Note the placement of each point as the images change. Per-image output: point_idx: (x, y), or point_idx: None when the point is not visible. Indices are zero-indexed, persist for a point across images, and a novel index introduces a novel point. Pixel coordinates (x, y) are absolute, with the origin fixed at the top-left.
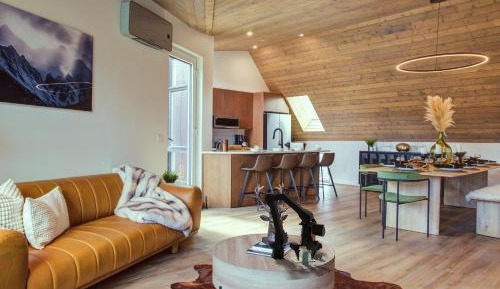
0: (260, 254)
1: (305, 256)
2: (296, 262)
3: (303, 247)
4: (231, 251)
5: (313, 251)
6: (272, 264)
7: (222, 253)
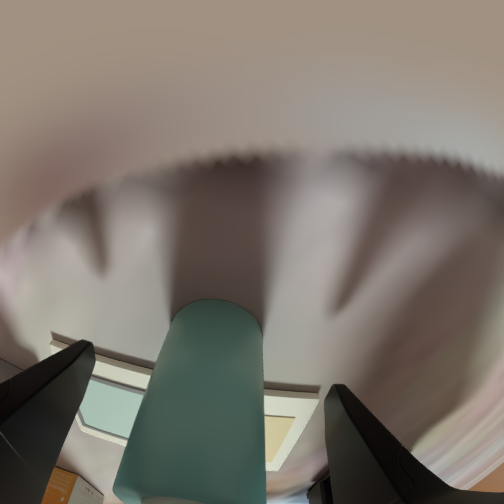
0: None
1: (234, 421)
2: (304, 395)
3: (88, 491)
4: None
5: (3, 444)
6: (501, 379)
7: (489, 470)
